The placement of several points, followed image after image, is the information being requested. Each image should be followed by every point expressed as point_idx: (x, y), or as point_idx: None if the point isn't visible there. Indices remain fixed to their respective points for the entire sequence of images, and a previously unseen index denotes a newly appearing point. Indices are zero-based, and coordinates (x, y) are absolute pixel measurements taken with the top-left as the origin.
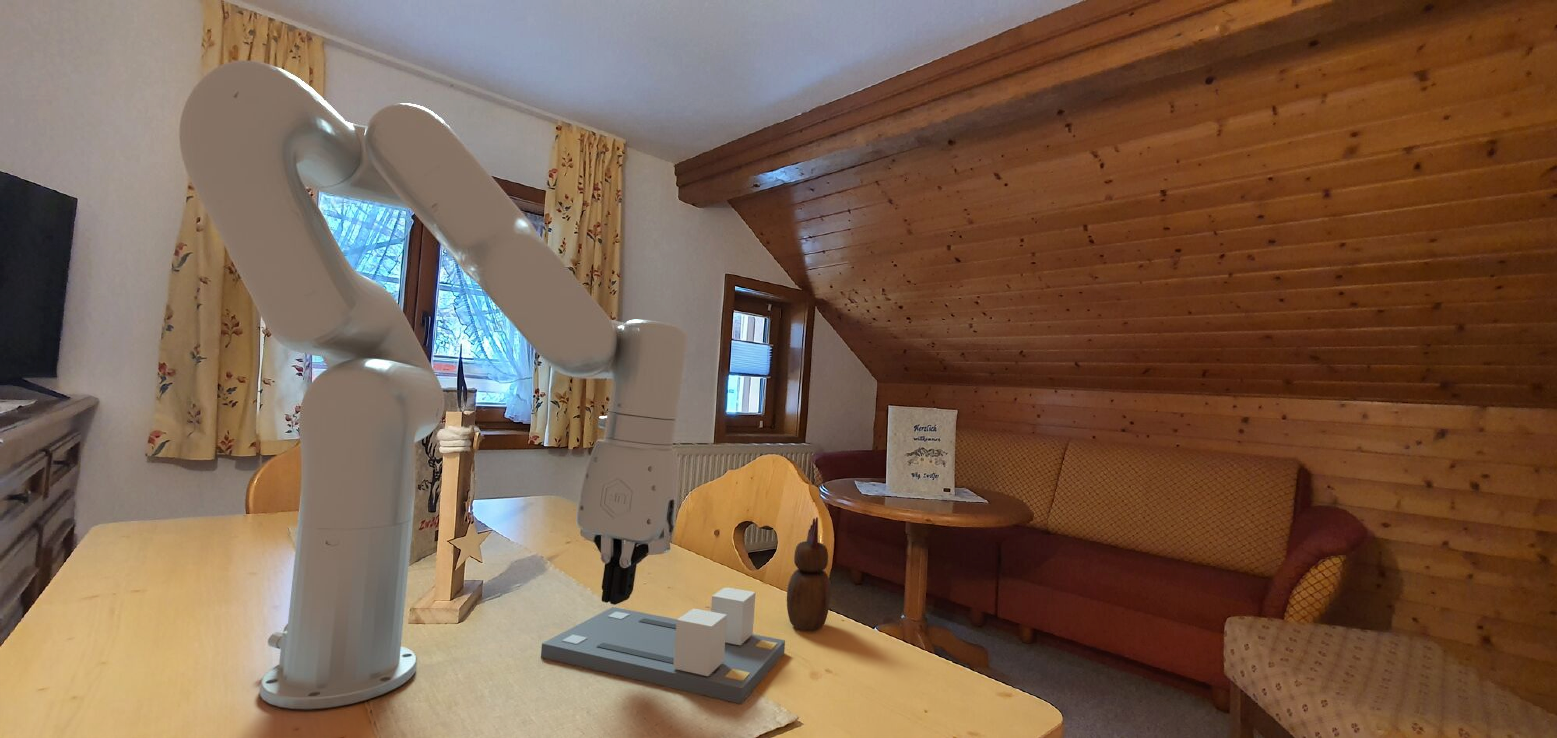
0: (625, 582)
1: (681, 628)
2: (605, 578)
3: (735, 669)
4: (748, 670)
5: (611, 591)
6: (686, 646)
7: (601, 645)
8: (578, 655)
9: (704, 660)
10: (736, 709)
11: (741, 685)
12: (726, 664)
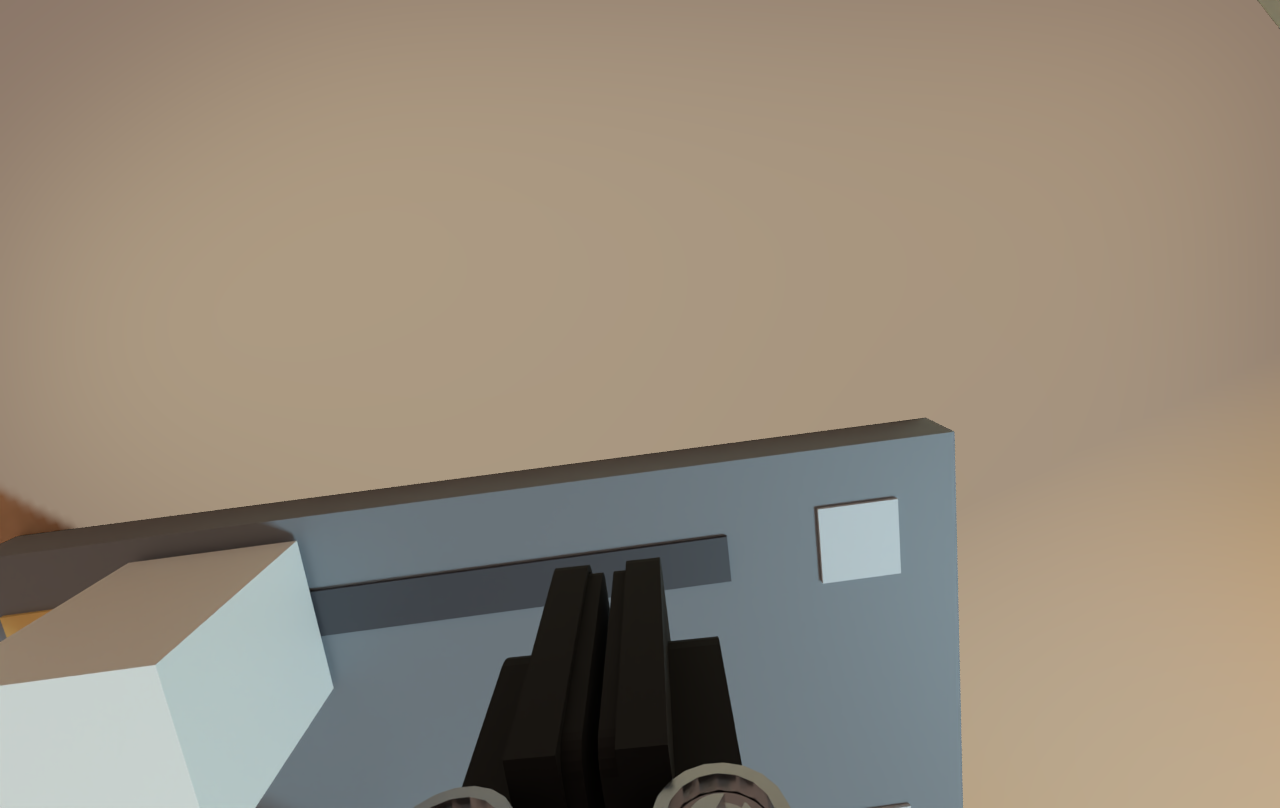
0: (493, 714)
1: (150, 642)
2: (651, 648)
3: None
4: None
5: (583, 605)
6: (172, 600)
7: (715, 555)
8: (755, 453)
9: (105, 590)
10: (5, 493)
11: None
12: None
